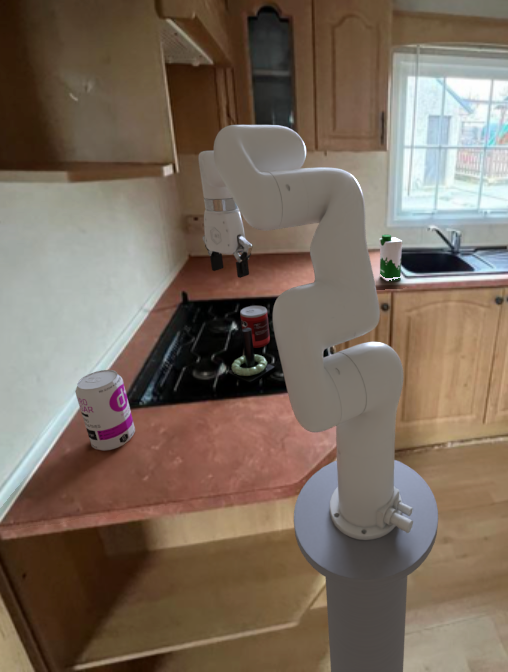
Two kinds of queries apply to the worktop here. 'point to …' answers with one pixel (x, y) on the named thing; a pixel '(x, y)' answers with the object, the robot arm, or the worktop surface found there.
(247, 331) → the stand
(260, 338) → the canned food
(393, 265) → the milk carton
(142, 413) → the worktop surface
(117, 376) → the supplement can
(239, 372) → the ring
